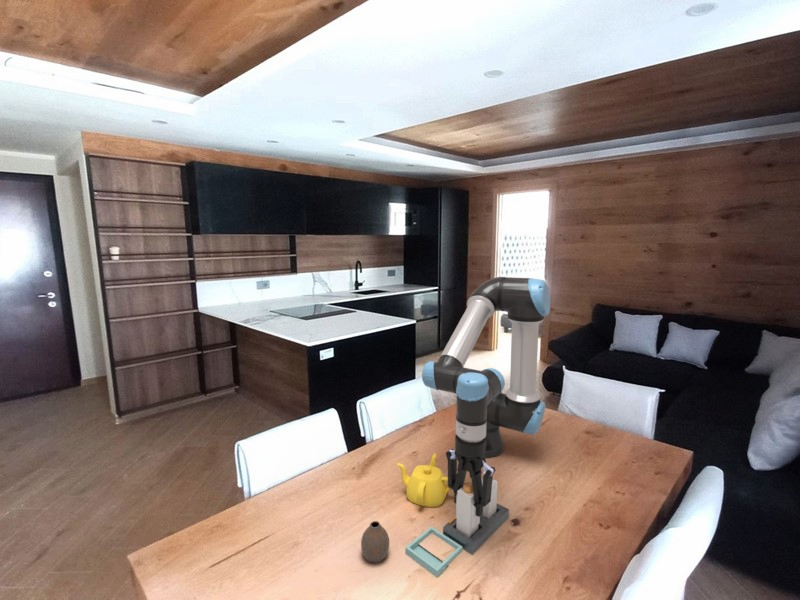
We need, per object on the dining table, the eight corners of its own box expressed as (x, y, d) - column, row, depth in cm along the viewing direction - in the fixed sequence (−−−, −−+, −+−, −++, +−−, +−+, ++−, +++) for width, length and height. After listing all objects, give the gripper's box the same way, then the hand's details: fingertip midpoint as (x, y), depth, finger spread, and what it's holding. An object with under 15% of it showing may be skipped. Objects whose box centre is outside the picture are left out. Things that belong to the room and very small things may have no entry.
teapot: (435, 479, 127) (435, 451, 125) (457, 505, 115) (458, 474, 113) (396, 490, 121) (396, 461, 120) (415, 518, 109) (416, 486, 108)
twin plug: (475, 518, 108) (477, 476, 106) (483, 510, 111) (485, 470, 109) (488, 525, 105) (490, 482, 103) (496, 517, 108) (497, 476, 106)
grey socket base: (442, 539, 102) (443, 525, 101) (480, 505, 115) (481, 493, 114) (472, 558, 96) (472, 544, 95) (508, 521, 108) (509, 508, 108)
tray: (405, 554, 97) (405, 547, 96) (431, 533, 104) (431, 526, 103) (437, 578, 90) (437, 571, 89) (462, 554, 97) (462, 546, 97)
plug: (456, 529, 101) (457, 485, 99) (465, 521, 104) (466, 478, 102) (469, 537, 98) (470, 492, 97) (478, 529, 101) (479, 485, 99)
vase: (361, 546, 99) (361, 515, 98) (388, 544, 100) (388, 513, 99) (361, 568, 92) (360, 535, 91) (390, 566, 93) (390, 533, 92)
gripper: (434, 429, 101) (432, 511, 104) (492, 454, 89) (488, 546, 92) (451, 419, 106) (449, 498, 109) (509, 442, 94) (504, 529, 98)
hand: (467, 520), depth 101 cm, fingers closed on plug, 4 cm apart
